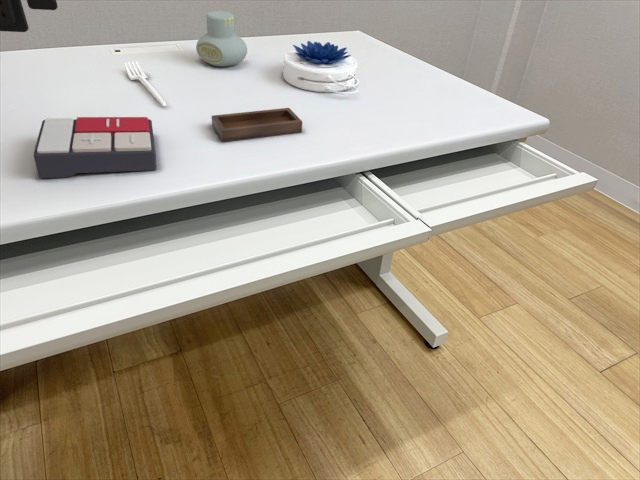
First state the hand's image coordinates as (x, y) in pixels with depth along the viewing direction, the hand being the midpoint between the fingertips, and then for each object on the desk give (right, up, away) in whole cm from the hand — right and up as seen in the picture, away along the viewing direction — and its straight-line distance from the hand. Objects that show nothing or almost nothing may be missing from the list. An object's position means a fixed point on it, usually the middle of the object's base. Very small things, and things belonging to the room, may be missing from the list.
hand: (29, 19), depth 54 cm
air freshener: (+12, +14, +51) cm, 54 cm away
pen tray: (+23, -6, +26) cm, 35 cm away
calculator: (+1, -13, +15) cm, 20 cm away
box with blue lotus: (+34, +8, +47) cm, 59 cm away
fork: (0, +4, +36) cm, 37 cm away
